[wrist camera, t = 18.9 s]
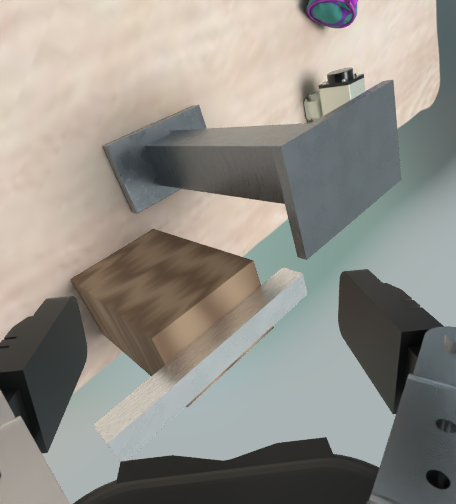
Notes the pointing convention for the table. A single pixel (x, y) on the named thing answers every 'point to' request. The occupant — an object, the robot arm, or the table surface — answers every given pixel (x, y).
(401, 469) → the robot arm
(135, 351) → the block
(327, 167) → the steel stand
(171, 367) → the aluminium bar
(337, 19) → the pencil case
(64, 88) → the table surface
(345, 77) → the mini surveillance camera
